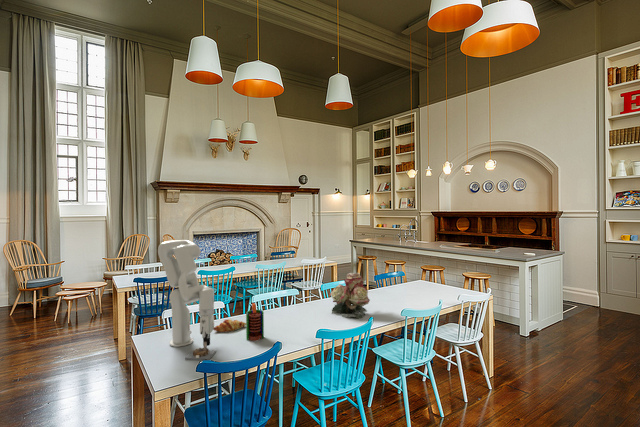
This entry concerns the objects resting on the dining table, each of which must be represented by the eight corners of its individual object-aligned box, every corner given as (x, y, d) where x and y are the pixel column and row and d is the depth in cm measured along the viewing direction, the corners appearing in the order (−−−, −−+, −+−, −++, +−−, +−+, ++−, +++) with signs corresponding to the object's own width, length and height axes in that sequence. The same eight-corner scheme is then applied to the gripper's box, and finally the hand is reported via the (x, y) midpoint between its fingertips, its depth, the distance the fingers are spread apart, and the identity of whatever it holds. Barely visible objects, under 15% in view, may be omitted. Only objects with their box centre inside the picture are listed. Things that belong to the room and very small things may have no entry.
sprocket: (210, 350, 188) (210, 339, 188) (205, 356, 180) (205, 345, 180) (196, 350, 189) (196, 339, 189) (190, 356, 181) (190, 344, 181)
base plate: (193, 351, 190) (193, 348, 190) (215, 351, 189) (215, 348, 189) (185, 359, 180) (185, 355, 180) (209, 359, 179) (209, 355, 179)
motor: (249, 342, 203) (248, 307, 202) (244, 337, 210) (243, 304, 210) (265, 338, 208) (265, 305, 208) (259, 334, 216) (259, 301, 215)
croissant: (244, 330, 232) (242, 318, 236) (249, 327, 225) (247, 314, 228) (212, 336, 221) (210, 323, 225) (216, 333, 214) (214, 319, 217)
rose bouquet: (326, 315, 252) (325, 273, 252) (349, 306, 275) (349, 267, 274) (355, 322, 236) (355, 277, 235) (378, 311, 258) (377, 271, 258)
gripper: (209, 315, 179) (209, 351, 180) (217, 307, 194) (217, 339, 195) (194, 315, 179) (194, 351, 180) (204, 307, 194) (204, 339, 195)
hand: (206, 345), depth 187 cm, fingers closed
